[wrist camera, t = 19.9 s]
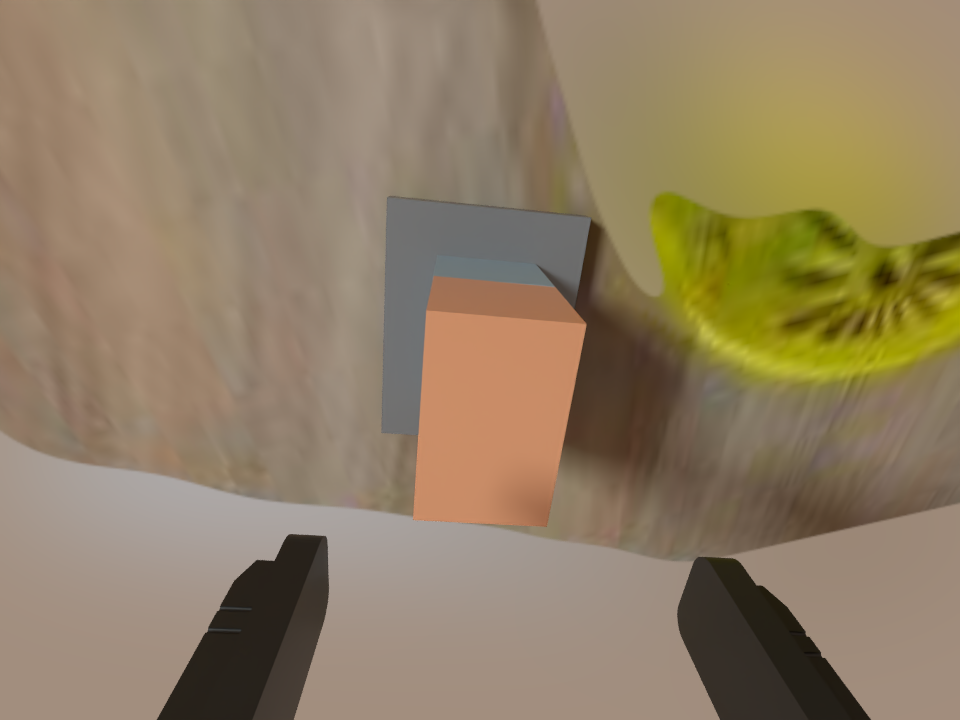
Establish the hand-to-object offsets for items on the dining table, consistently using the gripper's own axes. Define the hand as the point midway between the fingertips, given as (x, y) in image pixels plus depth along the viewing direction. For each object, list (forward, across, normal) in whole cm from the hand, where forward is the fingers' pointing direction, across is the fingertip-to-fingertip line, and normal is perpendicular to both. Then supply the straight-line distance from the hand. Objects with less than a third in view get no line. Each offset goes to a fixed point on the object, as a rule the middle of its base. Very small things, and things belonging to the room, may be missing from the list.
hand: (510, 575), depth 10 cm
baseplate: (+17, 0, 0) cm, 17 cm away
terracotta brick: (+11, 0, 0) cm, 11 cm away
